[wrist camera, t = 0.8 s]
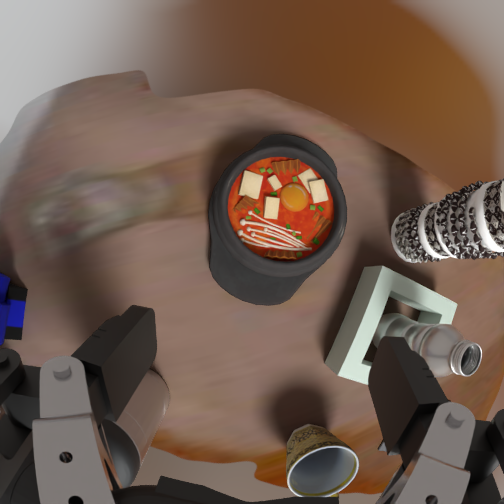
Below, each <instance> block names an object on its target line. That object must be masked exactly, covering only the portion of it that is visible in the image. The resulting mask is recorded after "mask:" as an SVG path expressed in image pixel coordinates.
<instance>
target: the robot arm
mask: <svg viewBox="0 0 504 504" xmlns="http://www.w3.org/2000/svg"><path fill="white" fill-rule="evenodd" d="M156 352H157V339H156V325H155V313H154V310H153V309H152V308H147V307H142V306H137V305H132V306H130V307H129V308H128V309H127V310H126V312H125V313H124V314H123V315H122V316H119V315H117V316H115V317H113V318H111V319H109V320H107V321H105V322H104V323H103V324H102V325H101V326H100V327H99V328H98V330H96V331H95V332H94V333H93V334H92V337H91V336H90V337H89V338H88V339H87V340H86V341H85V342H84V343H83V344H82V345H81V346H80V347H79V348H78V349H77V350H76V351H75V352H74V353H73V354H72V355H71V356H58V357H54V358H52V359H50V360H48V361H47V362H45V363H44V364H43V366H42V367H35V366H28V365H23V364H22V361H21V358H20V355H19V354H18V353H17V352H16V351H14V350H12V349H0V406H1V405H2V407H3V409H4V411H5V413H6V414H5V415H4V416H3V417H2V419H1V420H0V504H339V498H338V497H290V498H283V499H276V500H268V501H259V502H245V501H242V500H239V499H236V498H234V497H231V496H228V495H226V494H223V493H220V492H218V491H215V490H213V489H210V488H208V487H205V486H203V485H198V484H193V483H189V482H184V481H180V480H176V479H172V478H168V477H164V476H160V479H159V482H158V484H157V485H140V486H131V487H129V486H130V485H131V484H132V483H133V481H134V480H135V478H136V475H137V473H138V471H139V469H140V467H141V464H142V462H143V460H144V458H145V456H146V453H147V451H148V449H149V447H150V445H151V442H152V440H153V438H154V436H155V434H156V432H157V429H158V427H159V425H160V423H161V421H162V419H163V417H164V415H165V412H166V410H167V408H168V406H169V401H170V395H169V390H168V387H167V385H166V384H165V382H164V380H163V379H162V378H161V377H160V376H159V375H158V374H157V373H156V372H154V371H152V370H151V369H149V368H150V366H151V365H152V363H153V361H154V359H155V356H156ZM368 387H369V390H370V394H371V397H372V400H373V404H374V407H375V411H376V414H377V417H378V421H379V425H380V428H381V432H382V436H383V439H384V443H385V447H386V451H387V455H397V454H401V458H402V462H401V464H400V465H399V467H398V469H397V470H396V472H395V474H394V475H393V477H392V479H391V480H390V482H389V484H388V485H387V487H386V488H385V490H384V492H383V493H382V495H381V496H380V498H379V499H378V501H377V502H376V504H504V498H502V499H501V496H500V493H499V491H498V488H497V485H496V482H495V479H494V477H493V474H492V472H493V471H494V470H495V469H496V468H497V467H498V465H499V464H500V466H501V469H502V471H503V473H504V409H502V410H500V411H498V412H497V414H496V415H495V417H494V418H493V420H492V421H491V422H490V421H481V420H475V418H474V416H473V414H472V413H471V411H470V410H469V409H467V408H466V407H465V406H463V405H461V404H458V403H452V402H449V401H448V399H447V398H446V396H445V394H444V392H443V390H442V389H441V387H440V385H439V383H438V381H437V380H436V378H434V375H433V373H432V371H431V370H430V368H429V366H428V364H427V363H426V361H425V359H424V358H423V357H422V356H420V355H419V354H418V353H417V352H416V351H412V350H411V348H410V346H409V345H408V343H407V341H406V340H405V338H404V337H395V336H383V337H382V339H381V340H380V343H379V346H378V349H377V352H376V355H375V357H374V360H373V363H372V366H371V368H370V371H369V376H368Z"/></svg>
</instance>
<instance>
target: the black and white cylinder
mask: <svg viewBox="0 0 504 504" xmlns="http://www.w3.org/2000/svg"><path fill="white" fill-rule="evenodd" d="M473 190H475V191H473ZM391 241H392V245H393V248H394V250H395V251H396V253H397V255H398V256H399V257H400V258H402V259H403V260H404V261H406V262H411V263H416V262H419V263H421V262H422V260H424V262H425V263H426V262H427V261H428V260H430V261H431V262H433V261H435V260H436V261H440V260H441V259H442V258H443V259H446V258H448V257H454V258H458V259H462V258H463V259H470V258H472V259H473V260H475V259H476V258H478V259H479V258H483V259H484V258H492V259H495V258H497V256H500V255H501V256H502V257H504V179H502V180H499V181H493V182H484V183H483V182H481V181H477V182H476V183H475V184H473V183H472V184H470V185H469V187H467V186H464V187H462V189H461V190H459V191H458V192H453V193H452V195H451V194H447V195H446V197H444V198H443V199H442V200H441V201H440V202H437V203H433V202H430V203H429V204H428V205H427V204H423V205H422V207H421V206H418V207H417V208H416V209H415V208H412V209H410V210H406V211H405V212H404V213H401V214H400V215H399V216H398V217H397V218H396V219H395V220H394V223H393V225H392V227H391ZM492 251H496V252H494V253H492Z"/></svg>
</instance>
